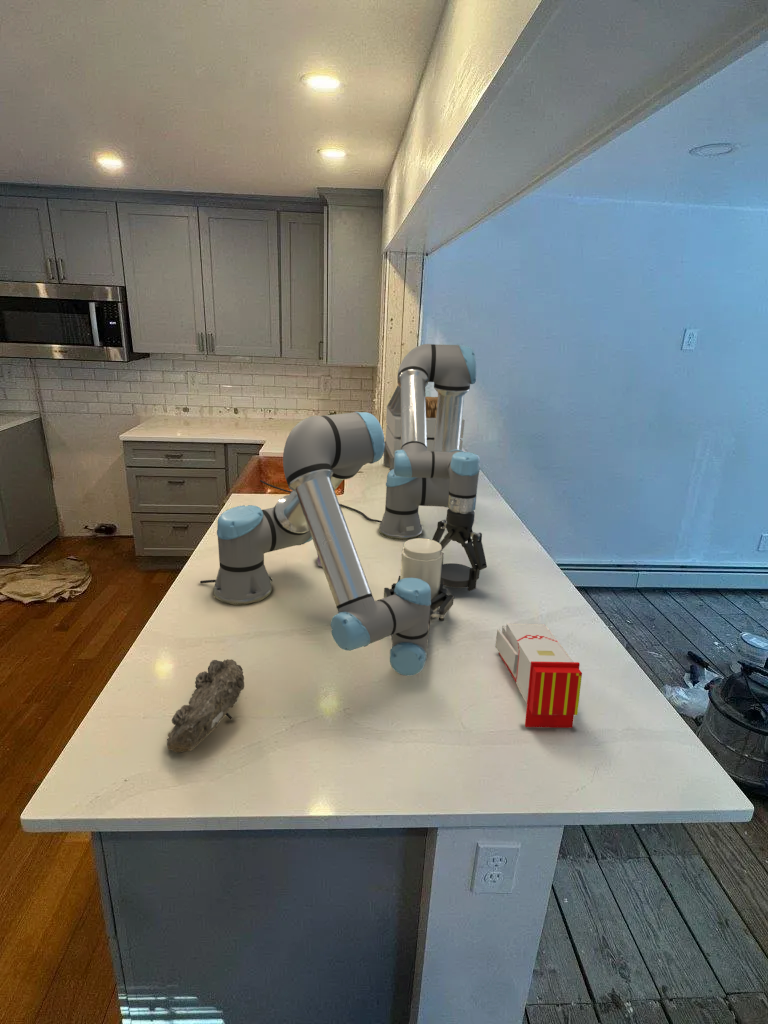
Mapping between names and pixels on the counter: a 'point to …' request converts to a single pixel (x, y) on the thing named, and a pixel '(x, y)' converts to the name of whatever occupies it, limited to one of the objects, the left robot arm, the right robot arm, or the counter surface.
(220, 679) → the fossil
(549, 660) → the toy
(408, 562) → the jar
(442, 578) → the lid
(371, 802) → the counter surface
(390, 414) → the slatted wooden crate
